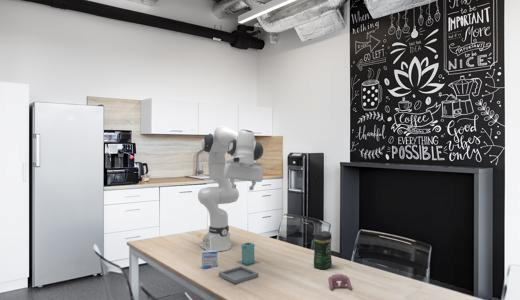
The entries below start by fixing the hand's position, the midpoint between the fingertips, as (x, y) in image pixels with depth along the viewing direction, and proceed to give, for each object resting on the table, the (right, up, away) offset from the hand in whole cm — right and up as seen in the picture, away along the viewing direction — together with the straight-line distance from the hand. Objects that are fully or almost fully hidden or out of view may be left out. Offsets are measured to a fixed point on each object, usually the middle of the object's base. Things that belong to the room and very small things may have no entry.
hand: (242, 189), depth 175 cm
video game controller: (+44, -43, -14) cm, 63 cm away
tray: (-2, -43, +2) cm, 43 cm away
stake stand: (+2, -43, +22) cm, 48 cm away
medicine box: (-18, -44, +17) cm, 50 cm away
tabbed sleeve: (+2, -42, +22) cm, 48 cm away
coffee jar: (+42, -43, +14) cm, 61 cm away
